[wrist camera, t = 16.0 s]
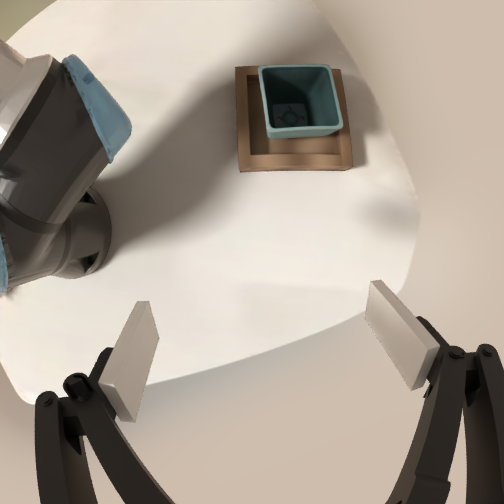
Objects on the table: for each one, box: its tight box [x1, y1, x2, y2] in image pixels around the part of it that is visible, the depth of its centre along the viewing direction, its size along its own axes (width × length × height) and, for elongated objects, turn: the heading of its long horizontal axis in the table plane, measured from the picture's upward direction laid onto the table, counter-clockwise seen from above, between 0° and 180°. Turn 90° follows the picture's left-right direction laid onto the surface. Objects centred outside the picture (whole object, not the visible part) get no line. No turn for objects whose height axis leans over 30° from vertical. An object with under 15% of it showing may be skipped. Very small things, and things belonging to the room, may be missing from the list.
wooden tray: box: [235, 66, 353, 172], centre depth 36 cm, size 15×15×4 cm
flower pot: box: [258, 64, 343, 139], centre depth 33 cm, size 9×9×9 cm
